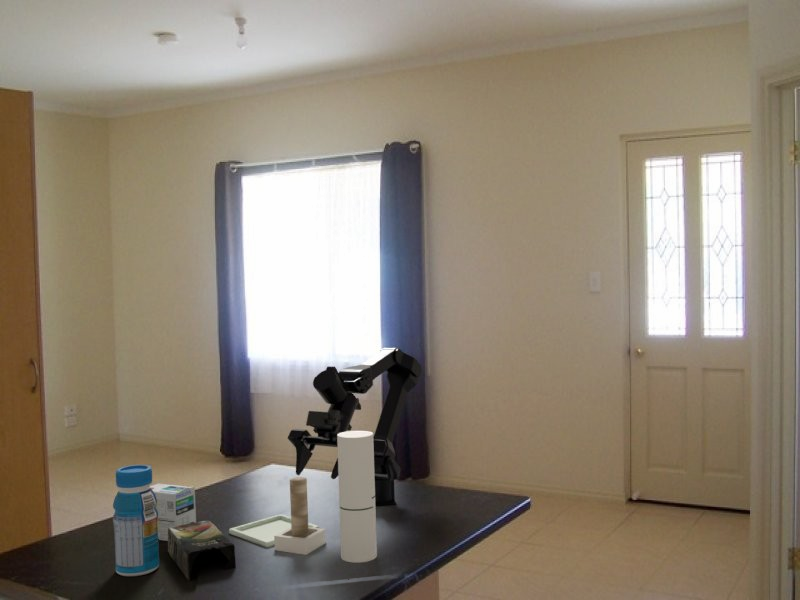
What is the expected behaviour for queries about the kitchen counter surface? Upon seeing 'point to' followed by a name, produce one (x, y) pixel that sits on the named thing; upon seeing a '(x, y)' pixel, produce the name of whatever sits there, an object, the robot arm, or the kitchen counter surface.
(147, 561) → the beverage bottle
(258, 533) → the tray
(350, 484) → the cylindrical container
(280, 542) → the holder
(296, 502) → the dowel
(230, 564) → the juice carton
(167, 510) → the light bulb box
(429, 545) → the kitchen counter surface
